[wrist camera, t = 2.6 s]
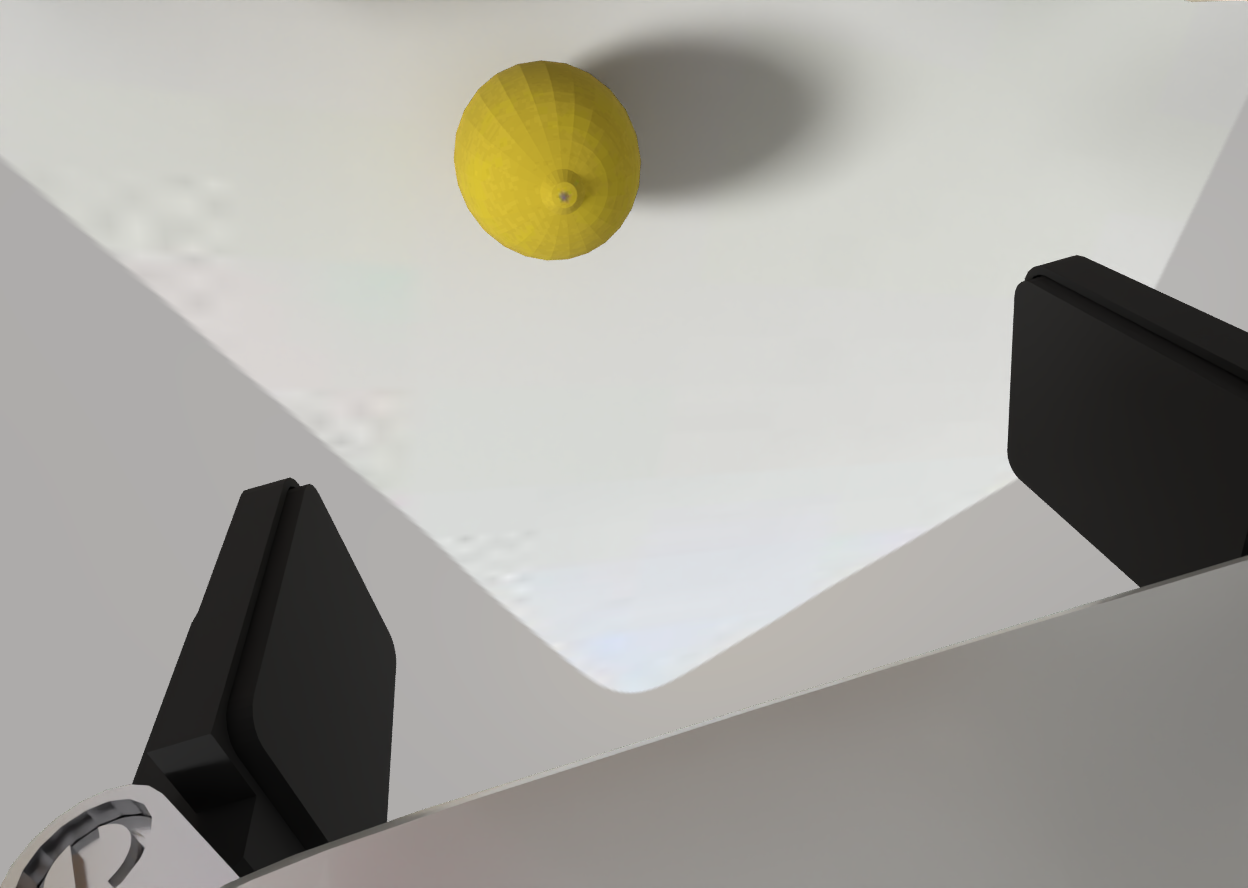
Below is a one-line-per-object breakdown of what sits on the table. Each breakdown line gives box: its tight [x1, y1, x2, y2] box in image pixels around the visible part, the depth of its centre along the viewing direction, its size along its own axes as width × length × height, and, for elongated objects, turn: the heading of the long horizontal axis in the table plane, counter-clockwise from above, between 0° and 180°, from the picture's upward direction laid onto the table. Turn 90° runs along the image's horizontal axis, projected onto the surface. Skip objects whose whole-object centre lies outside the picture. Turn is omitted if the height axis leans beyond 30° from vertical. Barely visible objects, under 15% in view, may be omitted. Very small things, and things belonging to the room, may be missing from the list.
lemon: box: [454, 61, 641, 260], centre depth 25 cm, size 6×6×8 cm
